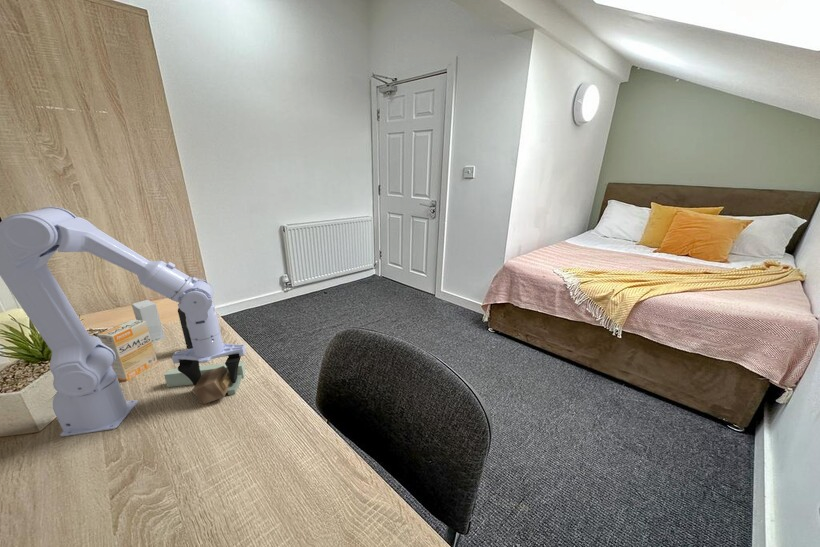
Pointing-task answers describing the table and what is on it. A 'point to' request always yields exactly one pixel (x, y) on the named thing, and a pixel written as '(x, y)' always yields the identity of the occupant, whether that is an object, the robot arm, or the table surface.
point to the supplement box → (130, 348)
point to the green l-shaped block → (178, 378)
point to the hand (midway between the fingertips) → (217, 382)
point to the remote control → (185, 329)
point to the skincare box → (149, 318)
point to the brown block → (212, 385)
